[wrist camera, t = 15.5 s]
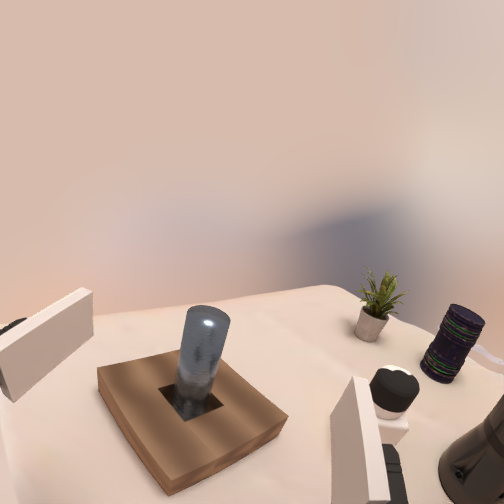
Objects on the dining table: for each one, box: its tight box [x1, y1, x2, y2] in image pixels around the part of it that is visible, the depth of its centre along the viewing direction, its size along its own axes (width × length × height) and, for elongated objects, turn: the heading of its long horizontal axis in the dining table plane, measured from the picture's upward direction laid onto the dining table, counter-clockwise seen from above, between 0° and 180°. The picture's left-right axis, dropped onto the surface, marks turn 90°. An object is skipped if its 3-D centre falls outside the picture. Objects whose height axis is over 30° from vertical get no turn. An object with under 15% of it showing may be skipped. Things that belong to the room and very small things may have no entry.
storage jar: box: [420, 304, 485, 384], centre depth 51 cm, size 10×10×15 cm
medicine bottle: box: [369, 365, 420, 446], centre depth 30 cm, size 7×7×12 cm
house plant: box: [355, 268, 404, 342], centre depth 63 cm, size 14×14×16 cm
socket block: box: [97, 350, 289, 496], centre depth 30 cm, size 16×16×4 cm
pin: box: [171, 305, 230, 422], centre depth 28 cm, size 4×4×15 cm
